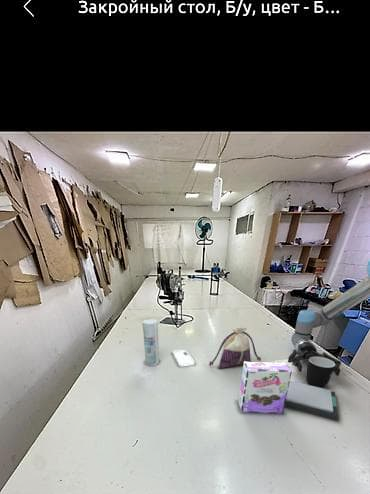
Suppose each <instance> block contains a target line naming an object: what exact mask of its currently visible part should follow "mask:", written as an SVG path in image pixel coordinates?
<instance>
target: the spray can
mask: <svg viewBox="0 0 370 494" xmlns="http://www.w3.org/2000/svg"><path fill="white" fill-rule="evenodd" d="M142 330H143V331H142V333H143V346H144V360H145V364H146V365H147V366H156V365H158V364H159V363H160V345H159V344H160V343H159V321H158V319H154V318H148V319H145V320H143V321H142Z"/></svg>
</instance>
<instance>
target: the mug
mask: <svg viewBox="0 0 370 494" xmlns="http://www.w3.org/2000/svg"><path fill="white" fill-rule="evenodd" d="M334 368H335V363H334V362H333V361H331V360H329V359H326V358H323V357H311V358H309V360H307V365H306V373H305V380H306V381H305V382H306V383H307V384H306V385H310V386H314V387H319V388H323V389H325V387H326V386H327V385H328V383H329V382H330V381H331V378H332V376H333V374H334V372H333V371H334Z"/></svg>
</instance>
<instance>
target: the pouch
mask: <svg viewBox="0 0 370 494" xmlns="http://www.w3.org/2000/svg"><path fill="white" fill-rule="evenodd" d="M231 330H232V331H233V332H232V333H230V334H228V335H227V336H226V337H225V338H224V339H223V340H222V342H221V343H220V345H219V348H218V351H217V352H216V355H215V357H214V358H213V359H212V361H209V363H208V366H209V367H211V366H213V365H214V362H215V361H217V358H218V356H219V354H220V352H221V354H220V358H219V361H218V365H217V368H218V369H223V368H229V367H236V366H240V365H243V364H244V361H247V362H252V360H251V359H252V358H251V345H252V351H253V354H254V356H255V357H256V360H257V361H258V362H262V358H261V356H258V354H257V352H256V347H255V343H254V340H253V338H252V337H251V335H250V334H249V333H248V332H246V331H247V328H246V327H237V328H236V329H232V328H231ZM250 342H251V345H250ZM221 350H222V351H221Z"/></svg>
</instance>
